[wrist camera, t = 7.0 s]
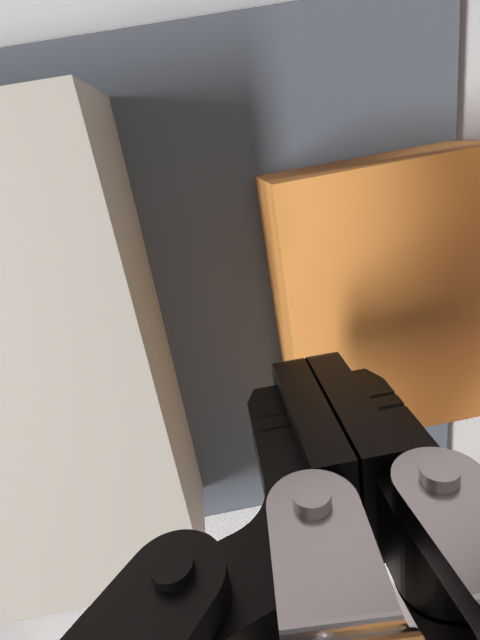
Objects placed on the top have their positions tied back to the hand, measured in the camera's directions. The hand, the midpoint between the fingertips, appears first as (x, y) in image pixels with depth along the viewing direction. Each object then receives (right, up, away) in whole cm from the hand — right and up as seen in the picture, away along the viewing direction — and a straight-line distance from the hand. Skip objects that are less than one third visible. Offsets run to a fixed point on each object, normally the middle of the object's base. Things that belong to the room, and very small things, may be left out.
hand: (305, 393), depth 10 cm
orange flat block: (+3, +2, +2) cm, 4 cm away
